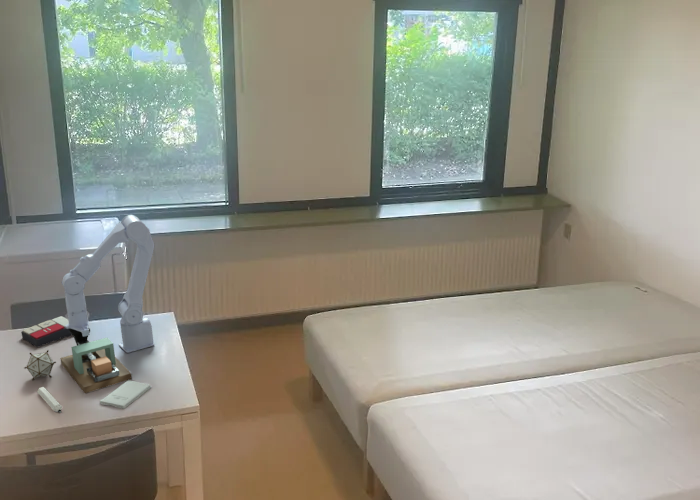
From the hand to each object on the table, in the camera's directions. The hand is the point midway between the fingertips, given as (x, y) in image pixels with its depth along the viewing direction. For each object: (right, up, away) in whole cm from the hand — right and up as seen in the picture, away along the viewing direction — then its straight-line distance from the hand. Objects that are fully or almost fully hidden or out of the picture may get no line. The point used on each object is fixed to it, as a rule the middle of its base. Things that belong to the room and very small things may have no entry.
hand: (82, 349), depth 218 cm
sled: (+8, -4, -9) cm, 13 cm away
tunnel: (+8, -4, -9) cm, 13 cm away
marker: (+2, -12, -26) cm, 29 cm away
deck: (+8, -6, -8) cm, 13 cm away
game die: (-8, -7, -11) cm, 15 cm away
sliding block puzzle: (-18, +2, +17) cm, 25 cm away
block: (+12, -5, -14) cm, 20 cm away
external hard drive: (+21, -11, -22) cm, 33 cm away
